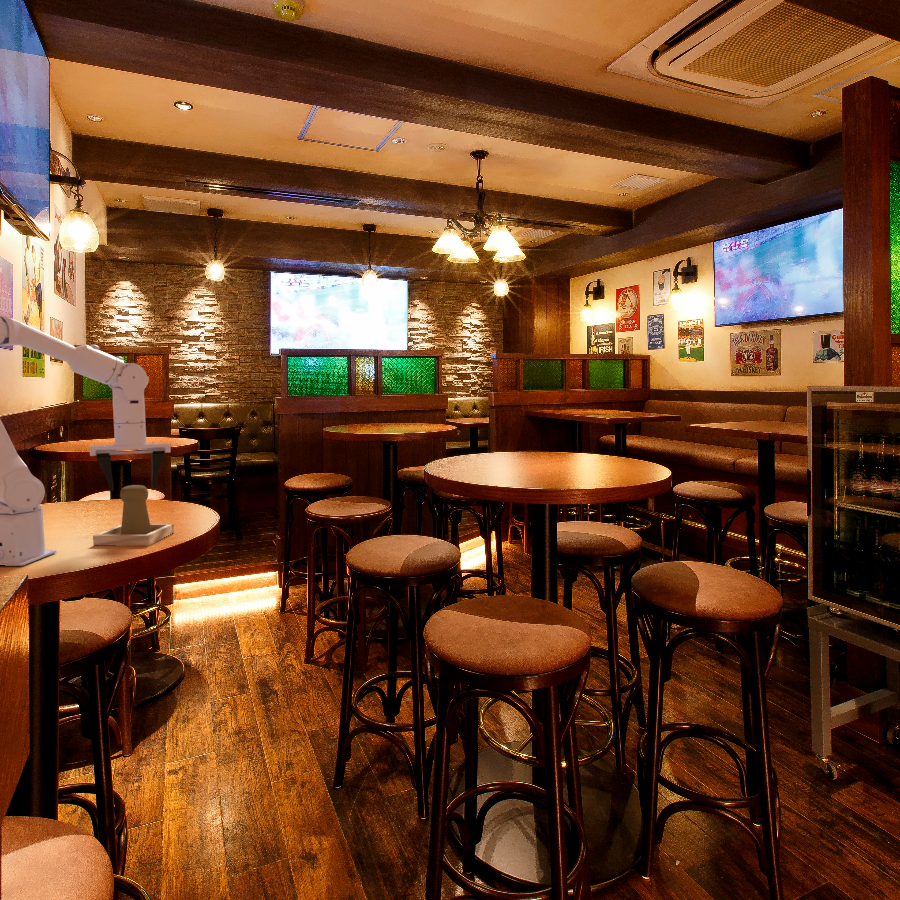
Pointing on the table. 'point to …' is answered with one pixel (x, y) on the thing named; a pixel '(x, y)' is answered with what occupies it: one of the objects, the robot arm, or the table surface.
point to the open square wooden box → (133, 536)
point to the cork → (135, 511)
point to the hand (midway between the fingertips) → (133, 489)
